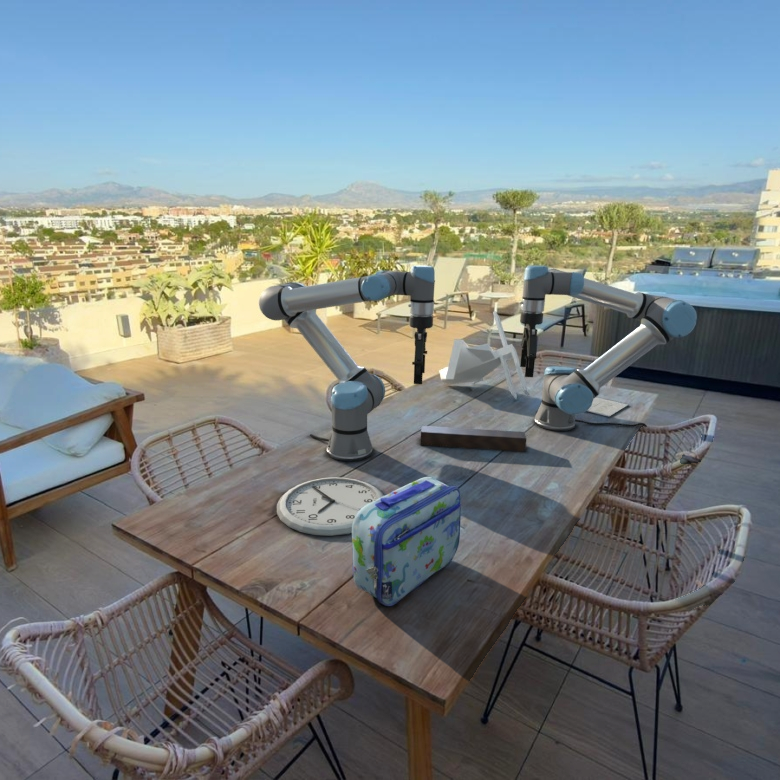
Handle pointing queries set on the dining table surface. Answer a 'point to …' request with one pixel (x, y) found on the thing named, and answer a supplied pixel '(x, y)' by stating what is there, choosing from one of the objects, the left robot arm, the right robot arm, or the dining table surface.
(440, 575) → the dining table surface
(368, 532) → the lunch box
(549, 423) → the right robot arm
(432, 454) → the dining table surface
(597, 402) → the invitation card
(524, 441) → the plank
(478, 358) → the white plastic object
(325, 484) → the wall clock
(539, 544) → the dining table surface
